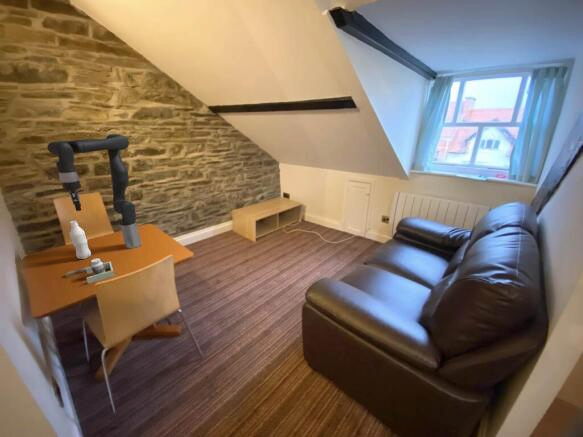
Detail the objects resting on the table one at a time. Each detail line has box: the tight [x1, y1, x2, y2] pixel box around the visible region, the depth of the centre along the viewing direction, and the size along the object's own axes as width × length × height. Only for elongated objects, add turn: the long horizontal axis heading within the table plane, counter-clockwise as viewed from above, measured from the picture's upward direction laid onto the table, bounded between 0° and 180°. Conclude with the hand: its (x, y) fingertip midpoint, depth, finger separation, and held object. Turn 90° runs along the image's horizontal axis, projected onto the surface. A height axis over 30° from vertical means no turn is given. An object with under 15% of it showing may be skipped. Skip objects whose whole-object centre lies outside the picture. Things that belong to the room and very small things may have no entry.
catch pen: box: [85, 261, 116, 284], centre depth 138 cm, size 12×13×4 cm
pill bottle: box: [90, 258, 106, 276], centre depth 136 cm, size 5×5×10 cm
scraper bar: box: [64, 265, 91, 278], centre depth 139 cm, size 13×6×3 cm, turn 130°
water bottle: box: [69, 220, 92, 260], centre depth 151 cm, size 7×7×25 cm
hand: (78, 208), depth 136 cm, fingers open, 8 cm apart
